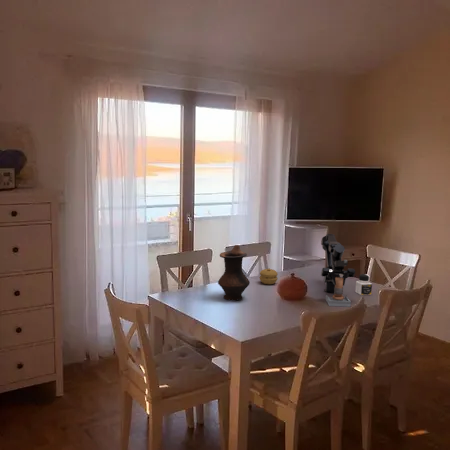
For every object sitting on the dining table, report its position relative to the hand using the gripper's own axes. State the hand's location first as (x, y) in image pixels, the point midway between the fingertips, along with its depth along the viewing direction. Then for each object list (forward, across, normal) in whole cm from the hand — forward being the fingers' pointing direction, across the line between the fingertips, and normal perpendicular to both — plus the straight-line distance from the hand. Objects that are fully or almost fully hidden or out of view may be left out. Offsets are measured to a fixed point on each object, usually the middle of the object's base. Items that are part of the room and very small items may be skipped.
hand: (339, 285), depth 286 cm
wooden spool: (+5, 0, +7) cm, 8 cm away
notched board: (+7, 0, +9) cm, 11 cm away
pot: (-20, -38, +36) cm, 56 cm away
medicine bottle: (-8, +20, +24) cm, 32 cm away
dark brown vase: (+5, -60, +11) cm, 61 cm away
